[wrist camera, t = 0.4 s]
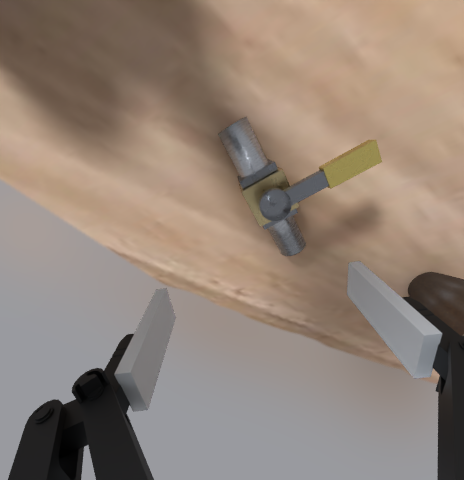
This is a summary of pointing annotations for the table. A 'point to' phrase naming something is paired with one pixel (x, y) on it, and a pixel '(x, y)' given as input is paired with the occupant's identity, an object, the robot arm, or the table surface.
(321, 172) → the lever
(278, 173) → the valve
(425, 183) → the table surface
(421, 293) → the plant pot
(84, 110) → the table surface
